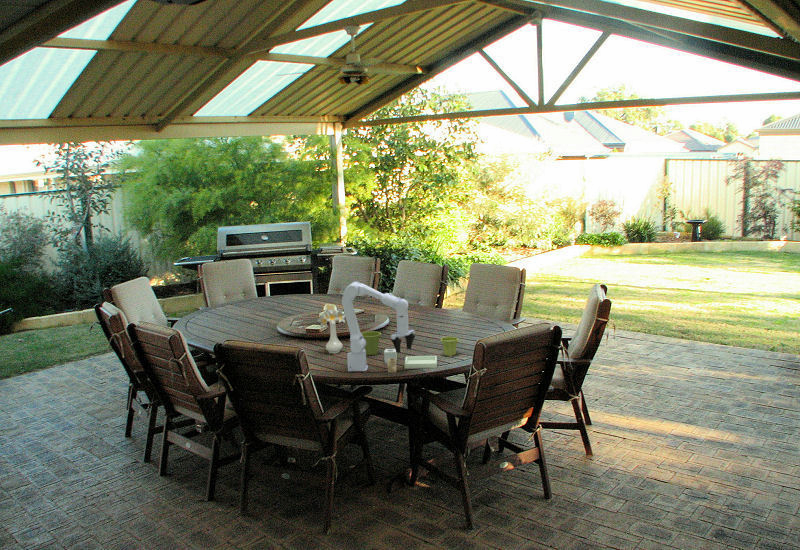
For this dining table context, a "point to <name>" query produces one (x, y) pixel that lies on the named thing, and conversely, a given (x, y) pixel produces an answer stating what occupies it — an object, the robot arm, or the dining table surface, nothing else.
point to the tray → (420, 362)
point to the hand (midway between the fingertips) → (403, 350)
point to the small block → (392, 365)
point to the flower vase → (332, 329)
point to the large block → (390, 354)
